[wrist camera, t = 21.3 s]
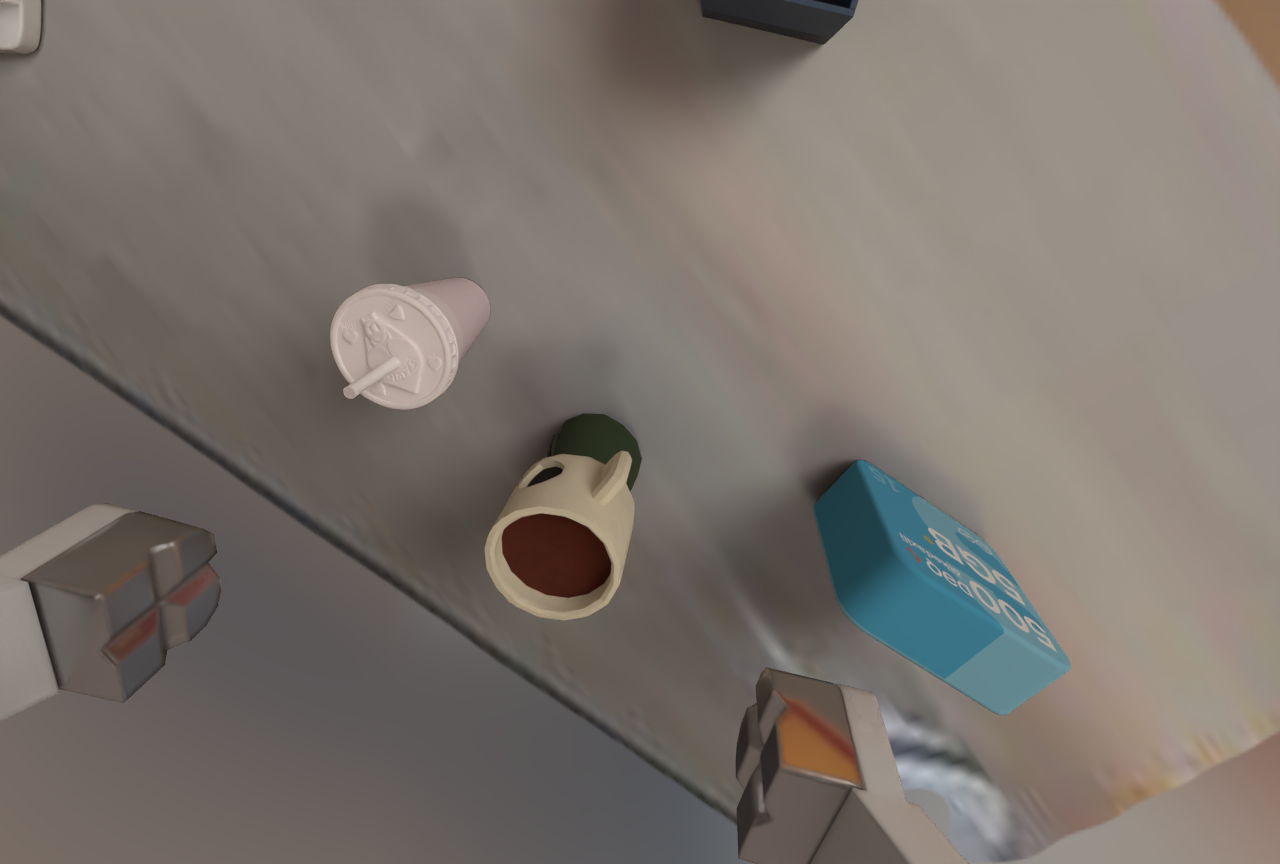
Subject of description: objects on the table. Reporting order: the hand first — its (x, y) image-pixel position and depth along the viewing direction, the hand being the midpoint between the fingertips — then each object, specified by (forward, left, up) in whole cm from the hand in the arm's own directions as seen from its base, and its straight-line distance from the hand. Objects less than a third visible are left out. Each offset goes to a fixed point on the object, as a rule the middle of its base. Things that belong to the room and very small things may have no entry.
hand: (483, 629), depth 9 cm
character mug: (-6, -12, -31) cm, 34 cm away
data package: (+14, -19, -31) cm, 39 cm away
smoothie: (-13, -1, -31) cm, 34 cm away
